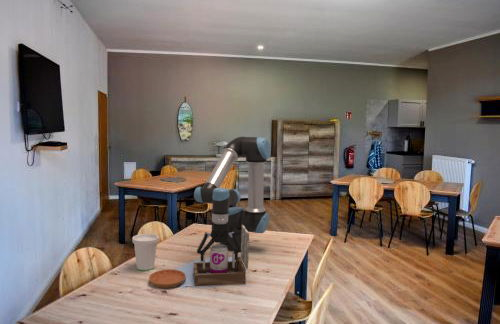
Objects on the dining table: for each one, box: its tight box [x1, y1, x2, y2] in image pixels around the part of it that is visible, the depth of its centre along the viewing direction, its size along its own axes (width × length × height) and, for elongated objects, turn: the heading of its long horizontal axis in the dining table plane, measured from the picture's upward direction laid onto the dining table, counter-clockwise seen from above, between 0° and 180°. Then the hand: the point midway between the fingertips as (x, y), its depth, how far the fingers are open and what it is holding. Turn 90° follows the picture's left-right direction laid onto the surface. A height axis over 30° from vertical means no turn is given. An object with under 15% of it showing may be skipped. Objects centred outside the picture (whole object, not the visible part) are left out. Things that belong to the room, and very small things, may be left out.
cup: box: [131, 233, 160, 272], centre depth 182 cm, size 12×12×15 cm
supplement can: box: [209, 243, 229, 274], centre depth 172 cm, size 8×8×15 cm
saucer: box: [148, 268, 187, 289], centre depth 167 cm, size 16×16×3 cm
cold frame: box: [192, 225, 250, 287], centre depth 172 cm, size 15×23×23 cm, turn 101°
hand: (218, 267), depth 172 cm, fingers open, 13 cm apart
